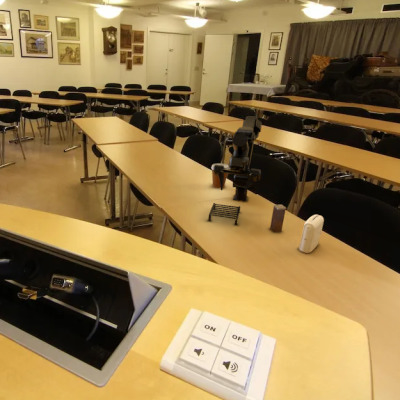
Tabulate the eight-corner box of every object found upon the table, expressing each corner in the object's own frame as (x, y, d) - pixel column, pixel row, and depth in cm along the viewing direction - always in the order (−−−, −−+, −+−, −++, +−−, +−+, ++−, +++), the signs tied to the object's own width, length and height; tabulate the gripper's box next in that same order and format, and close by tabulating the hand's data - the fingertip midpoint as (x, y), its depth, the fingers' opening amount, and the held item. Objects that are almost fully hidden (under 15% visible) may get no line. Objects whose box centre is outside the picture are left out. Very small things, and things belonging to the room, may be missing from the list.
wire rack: (213, 208, 151) (213, 202, 150) (239, 212, 147) (240, 206, 145) (208, 221, 139) (208, 214, 138) (236, 225, 135) (237, 219, 134)
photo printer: (309, 254, 113) (316, 223, 108) (296, 250, 116) (303, 219, 111) (319, 244, 119) (327, 214, 115) (307, 240, 122) (314, 210, 118)
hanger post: (269, 228, 132) (273, 204, 127) (277, 227, 132) (281, 204, 128) (273, 232, 128) (278, 208, 124) (281, 231, 129) (286, 207, 125)
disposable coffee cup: (220, 190, 172) (223, 169, 167) (206, 186, 179) (207, 165, 174) (230, 186, 178) (233, 165, 173) (216, 182, 184) (218, 162, 180)
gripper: (215, 146, 132) (207, 182, 129) (263, 150, 124) (256, 188, 121) (218, 157, 142) (211, 190, 139) (263, 162, 134) (256, 197, 131)
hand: (232, 191), depth 132 cm, fingers open, 9 cm apart
